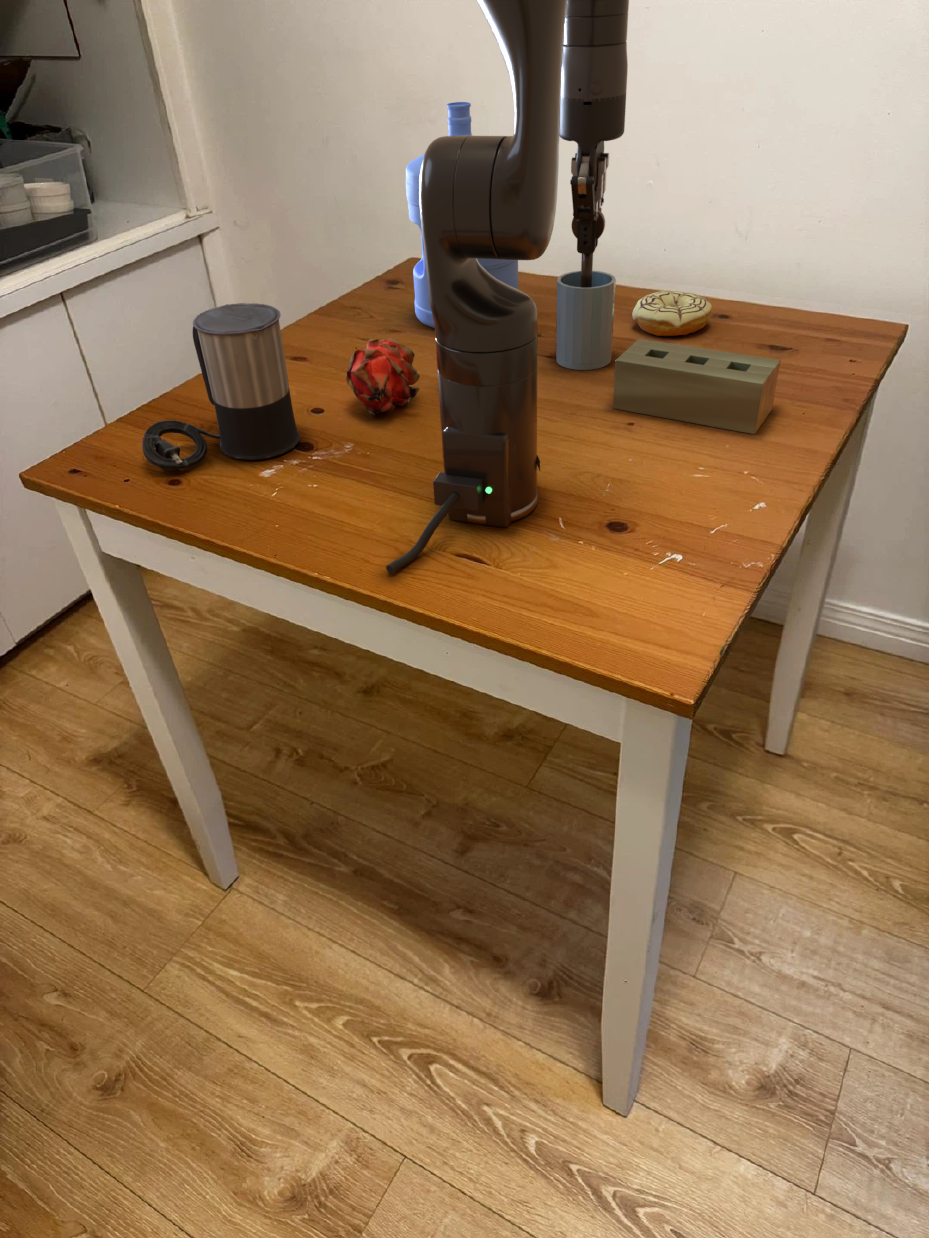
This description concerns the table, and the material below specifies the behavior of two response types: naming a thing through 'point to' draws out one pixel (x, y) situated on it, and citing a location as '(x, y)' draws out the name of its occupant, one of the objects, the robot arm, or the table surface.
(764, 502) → the table surface
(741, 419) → the stand
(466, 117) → the water jug
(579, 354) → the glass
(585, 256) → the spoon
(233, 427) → the milk frother
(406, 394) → the dragon fruit
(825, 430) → the table surface
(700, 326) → the decorated donut
